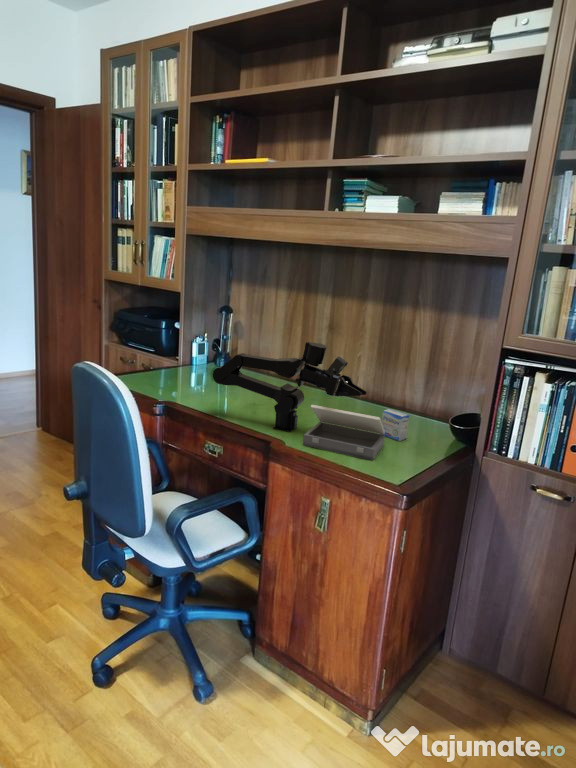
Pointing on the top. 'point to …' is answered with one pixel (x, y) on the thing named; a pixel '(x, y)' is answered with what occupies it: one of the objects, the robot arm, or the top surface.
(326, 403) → the top surface
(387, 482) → the top surface
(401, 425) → the medicine box
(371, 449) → the cable tray
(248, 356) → the robot arm
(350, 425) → the tray lid
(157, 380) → the top surface
